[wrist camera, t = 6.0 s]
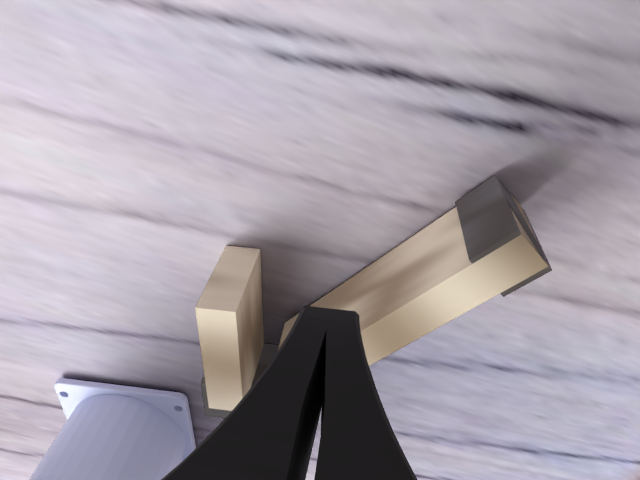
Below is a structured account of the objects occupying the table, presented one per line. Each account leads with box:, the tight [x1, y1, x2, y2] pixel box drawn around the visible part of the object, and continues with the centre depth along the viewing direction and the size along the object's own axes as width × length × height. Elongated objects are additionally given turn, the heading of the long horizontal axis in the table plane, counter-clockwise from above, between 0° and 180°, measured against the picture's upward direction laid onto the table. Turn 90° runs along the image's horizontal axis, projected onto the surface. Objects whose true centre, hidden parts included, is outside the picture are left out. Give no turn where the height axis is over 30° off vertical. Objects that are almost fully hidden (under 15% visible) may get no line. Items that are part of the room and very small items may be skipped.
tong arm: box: [278, 175, 552, 366], centre depth 20 cm, size 12×2×4 cm, turn 134°
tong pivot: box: [195, 246, 279, 418], centre depth 23 cm, size 8×6×4 cm, turn 178°
